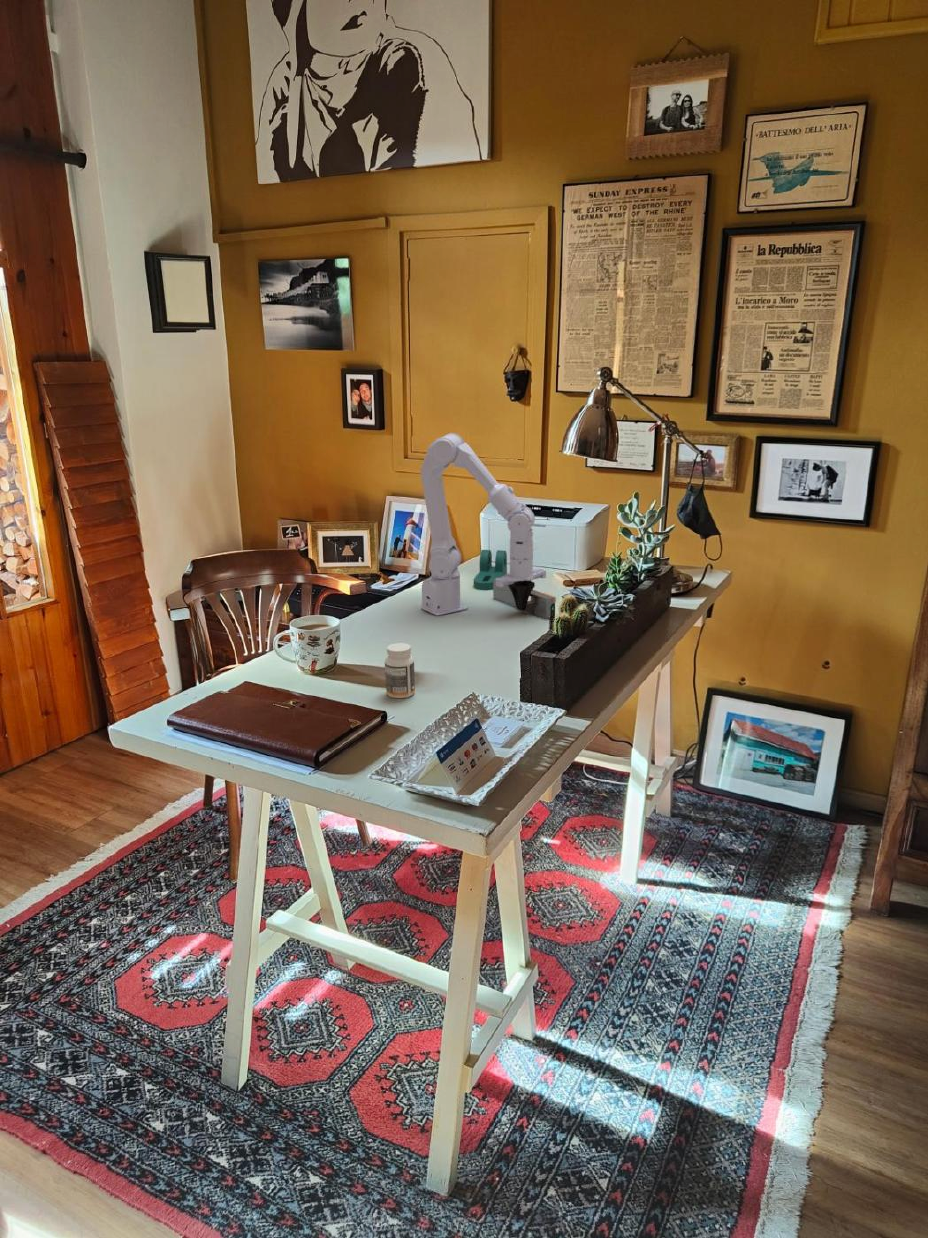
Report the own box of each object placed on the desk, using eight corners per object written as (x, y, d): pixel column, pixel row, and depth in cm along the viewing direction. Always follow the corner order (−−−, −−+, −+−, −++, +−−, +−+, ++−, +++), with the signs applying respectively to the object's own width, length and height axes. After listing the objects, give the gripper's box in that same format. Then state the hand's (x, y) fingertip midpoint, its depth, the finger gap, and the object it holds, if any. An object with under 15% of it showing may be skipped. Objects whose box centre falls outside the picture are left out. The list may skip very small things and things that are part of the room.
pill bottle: (400, 686, 180) (398, 639, 177) (421, 692, 177) (419, 645, 174) (380, 694, 176) (378, 647, 173) (401, 701, 173) (399, 654, 170)
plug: (529, 614, 224) (529, 602, 222) (518, 610, 227) (518, 598, 226) (555, 608, 228) (555, 596, 227) (544, 604, 232) (544, 592, 231)
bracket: (484, 573, 262) (484, 547, 260) (506, 574, 261) (506, 548, 258) (471, 590, 246) (471, 562, 243) (495, 591, 244) (495, 563, 242)
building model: (546, 619, 220) (546, 599, 218) (493, 598, 237) (493, 579, 236) (553, 617, 221) (554, 597, 220) (500, 596, 238) (500, 578, 237)
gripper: (507, 565, 213) (507, 618, 217) (554, 555, 221) (553, 608, 225) (490, 559, 219) (490, 611, 223) (536, 550, 226) (535, 601, 231)
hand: (520, 609), depth 224 cm, fingers closed
